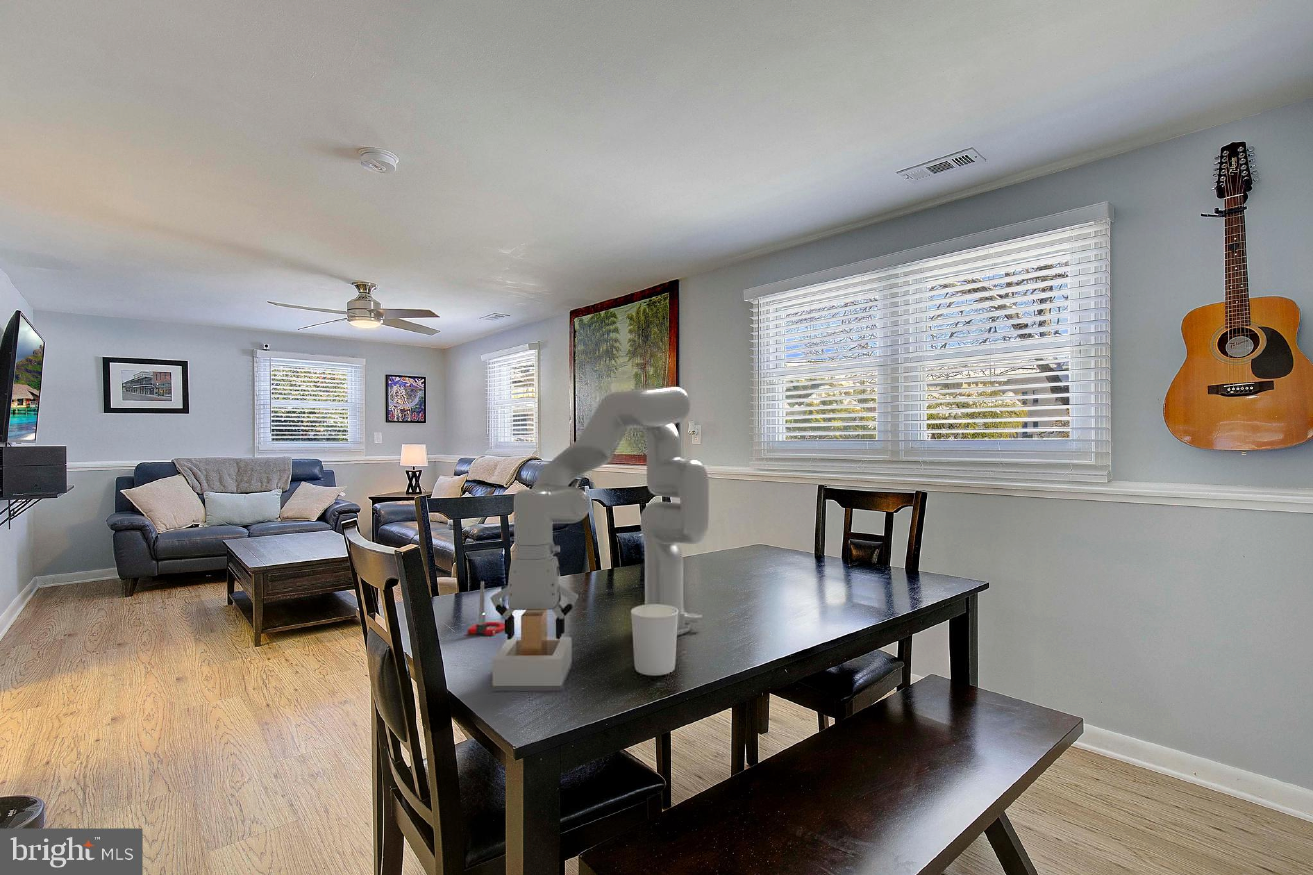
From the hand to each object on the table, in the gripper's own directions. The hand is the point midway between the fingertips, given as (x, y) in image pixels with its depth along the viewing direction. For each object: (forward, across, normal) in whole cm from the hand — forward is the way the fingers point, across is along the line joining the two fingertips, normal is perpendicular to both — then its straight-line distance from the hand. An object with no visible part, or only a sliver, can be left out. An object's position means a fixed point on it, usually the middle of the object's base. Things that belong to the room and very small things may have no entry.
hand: (534, 637), depth 124 cm
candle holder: (+8, -24, -5) cm, 26 cm away
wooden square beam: (+7, 0, 0) cm, 7 cm away
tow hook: (+8, +18, -31) cm, 37 cm away
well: (+8, 0, 0) cm, 8 cm away
